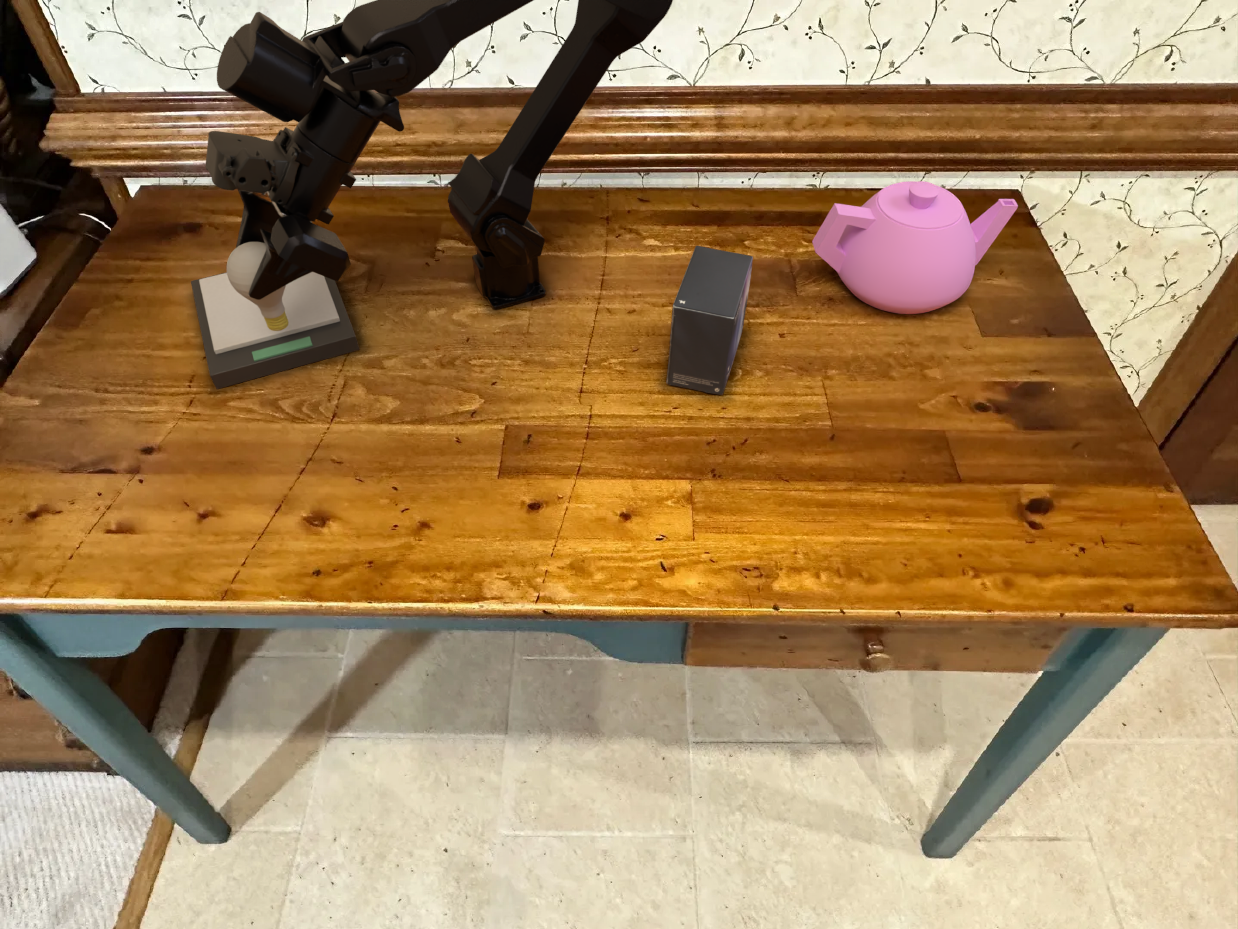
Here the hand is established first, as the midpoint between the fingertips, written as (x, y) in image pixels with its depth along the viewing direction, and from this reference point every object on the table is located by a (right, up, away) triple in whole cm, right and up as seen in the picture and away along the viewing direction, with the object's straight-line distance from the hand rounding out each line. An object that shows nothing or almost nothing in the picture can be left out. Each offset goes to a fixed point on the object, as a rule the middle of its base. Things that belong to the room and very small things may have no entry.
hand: (245, 281), depth 85 cm
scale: (-3, -1, +14) cm, 14 cm away
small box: (+45, -7, +10) cm, 47 cm away
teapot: (+69, +4, +18) cm, 71 cm away
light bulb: (+1, -4, +6) cm, 7 cm away
